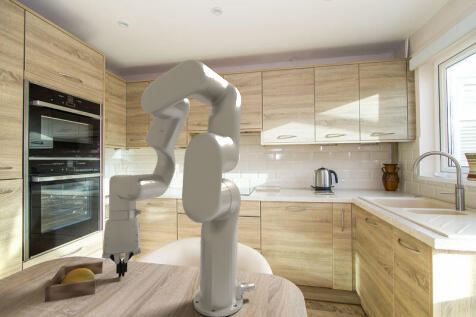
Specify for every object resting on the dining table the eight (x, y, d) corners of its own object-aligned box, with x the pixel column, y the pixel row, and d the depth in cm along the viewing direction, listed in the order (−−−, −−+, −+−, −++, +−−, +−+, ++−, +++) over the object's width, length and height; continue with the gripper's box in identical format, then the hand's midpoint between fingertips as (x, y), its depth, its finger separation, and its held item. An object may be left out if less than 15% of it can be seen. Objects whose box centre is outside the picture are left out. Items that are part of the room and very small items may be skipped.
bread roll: (56, 296, 63) (56, 281, 63) (64, 281, 71) (64, 267, 72) (92, 289, 67) (92, 275, 67) (96, 275, 75) (96, 263, 75)
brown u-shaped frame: (102, 271, 77) (102, 260, 77) (94, 293, 64) (95, 280, 64) (61, 277, 73) (62, 266, 73) (44, 302, 60) (45, 288, 60)
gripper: (148, 211, 80) (147, 266, 79) (96, 214, 74) (95, 274, 74) (148, 215, 73) (148, 276, 72) (92, 219, 67) (91, 285, 67)
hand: (121, 274), depth 73 cm, fingers closed
